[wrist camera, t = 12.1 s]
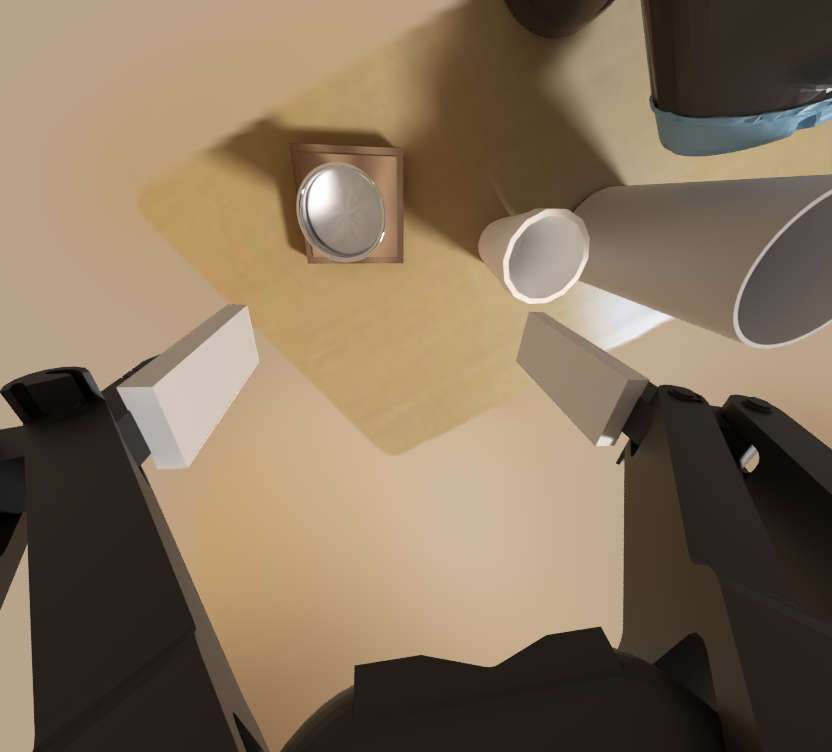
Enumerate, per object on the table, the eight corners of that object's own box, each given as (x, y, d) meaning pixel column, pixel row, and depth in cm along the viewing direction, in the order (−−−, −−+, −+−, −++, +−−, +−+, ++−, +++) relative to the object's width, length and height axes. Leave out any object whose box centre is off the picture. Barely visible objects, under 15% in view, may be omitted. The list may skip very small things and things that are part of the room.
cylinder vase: (657, 212, 43) (943, 223, 22) (600, 292, 48) (785, 366, 27) (595, 168, 39) (869, 130, 18) (540, 261, 44) (701, 318, 23)
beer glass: (332, 247, 37) (312, 273, 24) (312, 180, 33) (276, 168, 20) (387, 236, 37) (397, 255, 24) (374, 168, 33) (377, 149, 20)
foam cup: (463, 215, 40) (500, 221, 29) (530, 197, 40) (593, 196, 29) (472, 285, 45) (506, 313, 34) (531, 269, 45) (585, 292, 34)
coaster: (400, 152, 35) (403, 147, 33) (401, 259, 41) (403, 263, 39) (295, 147, 34) (288, 142, 31) (312, 259, 40) (307, 263, 37)
